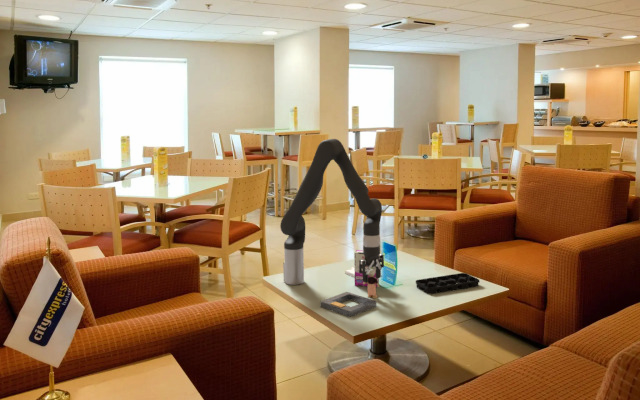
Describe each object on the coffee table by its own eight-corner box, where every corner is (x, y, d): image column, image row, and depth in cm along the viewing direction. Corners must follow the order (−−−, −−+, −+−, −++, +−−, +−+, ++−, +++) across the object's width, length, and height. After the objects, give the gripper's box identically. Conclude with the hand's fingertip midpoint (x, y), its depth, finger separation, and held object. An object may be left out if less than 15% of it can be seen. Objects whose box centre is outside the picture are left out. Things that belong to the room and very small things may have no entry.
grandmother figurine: (380, 295, 244) (380, 268, 242) (379, 298, 240) (379, 271, 238) (363, 294, 246) (363, 267, 244) (361, 297, 243) (362, 269, 240)
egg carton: (483, 286, 257) (484, 278, 256) (438, 299, 240) (439, 291, 240) (455, 277, 271) (455, 269, 271) (410, 288, 255) (411, 281, 254)
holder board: (320, 306, 232) (320, 300, 231) (346, 297, 243) (346, 291, 243) (350, 317, 220) (350, 310, 219) (376, 306, 231) (376, 300, 231)
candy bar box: (379, 284, 260) (379, 250, 258) (377, 287, 256) (378, 253, 253) (356, 282, 263) (356, 249, 260) (354, 285, 258) (354, 252, 256)
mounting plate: (342, 272, 280) (342, 269, 279) (362, 268, 286) (362, 265, 286) (363, 282, 265) (363, 278, 264) (384, 277, 271) (384, 273, 271)
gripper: (375, 240, 247) (375, 274, 249) (354, 246, 237) (354, 281, 240) (388, 242, 241) (388, 278, 244) (367, 248, 232) (367, 285, 234)
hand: (371, 279), depth 242 cm, fingers open, 8 cm apart
